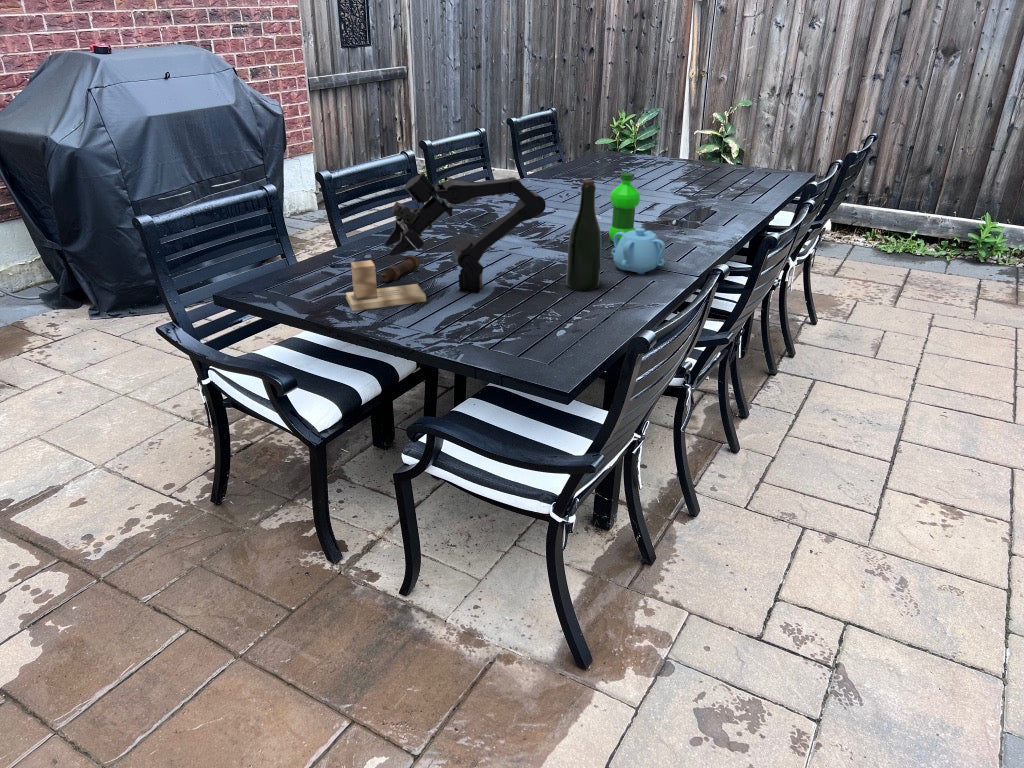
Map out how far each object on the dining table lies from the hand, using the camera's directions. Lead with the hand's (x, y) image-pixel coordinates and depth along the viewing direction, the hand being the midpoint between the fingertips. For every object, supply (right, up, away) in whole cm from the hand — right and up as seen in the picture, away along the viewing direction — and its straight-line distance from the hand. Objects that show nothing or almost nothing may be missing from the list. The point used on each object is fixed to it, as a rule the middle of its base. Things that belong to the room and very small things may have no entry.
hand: (387, 249), depth 218 cm
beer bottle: (+59, -9, +17) cm, 62 cm away
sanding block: (-7, -13, +2) cm, 15 cm away
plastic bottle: (+77, +12, +56) cm, 96 cm away
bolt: (0, -5, +23) cm, 24 cm away
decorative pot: (+78, -1, +32) cm, 85 cm away
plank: (-1, -14, +5) cm, 15 cm away
